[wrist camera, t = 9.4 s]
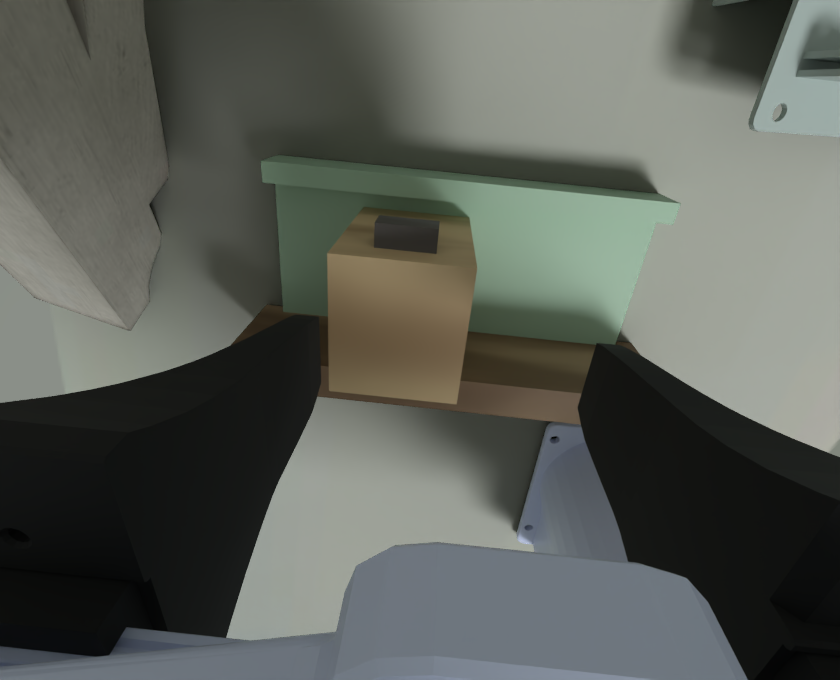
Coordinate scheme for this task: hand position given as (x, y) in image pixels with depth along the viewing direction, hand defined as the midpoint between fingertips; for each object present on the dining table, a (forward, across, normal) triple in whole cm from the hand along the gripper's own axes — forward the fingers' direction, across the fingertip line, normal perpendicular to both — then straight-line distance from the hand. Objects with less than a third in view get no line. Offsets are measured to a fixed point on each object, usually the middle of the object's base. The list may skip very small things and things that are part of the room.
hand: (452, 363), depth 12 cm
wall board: (+10, 0, +4) cm, 11 cm away
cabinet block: (+9, +2, +1) cm, 9 cm away
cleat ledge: (+10, 0, 0) cm, 10 cm away
